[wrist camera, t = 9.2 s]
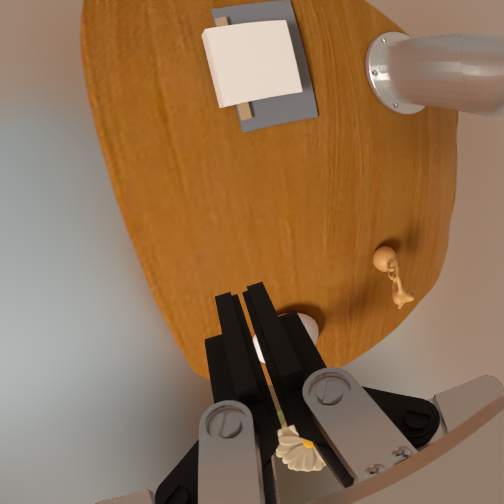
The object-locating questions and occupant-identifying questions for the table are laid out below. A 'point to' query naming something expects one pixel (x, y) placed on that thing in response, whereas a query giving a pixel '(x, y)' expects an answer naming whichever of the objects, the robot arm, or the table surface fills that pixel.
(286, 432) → the flower in vase
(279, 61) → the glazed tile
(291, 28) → the charcoal mat
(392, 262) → the figurine
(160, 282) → the table surface
